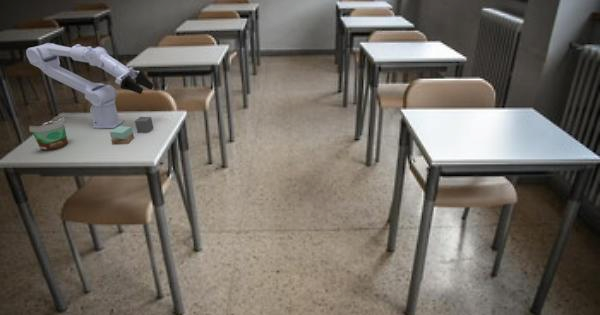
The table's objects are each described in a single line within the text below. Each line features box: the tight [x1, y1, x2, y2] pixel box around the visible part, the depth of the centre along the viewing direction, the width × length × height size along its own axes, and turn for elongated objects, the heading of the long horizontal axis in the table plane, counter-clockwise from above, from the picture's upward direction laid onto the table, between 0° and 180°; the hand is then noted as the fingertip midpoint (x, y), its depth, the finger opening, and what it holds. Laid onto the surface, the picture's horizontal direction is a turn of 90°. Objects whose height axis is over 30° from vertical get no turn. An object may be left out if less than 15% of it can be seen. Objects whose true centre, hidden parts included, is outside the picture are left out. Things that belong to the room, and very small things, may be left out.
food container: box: [29, 115, 69, 152], centre depth 151 cm, size 12×6×10 cm, turn 148°
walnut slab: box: [110, 132, 135, 145], centre depth 156 cm, size 6×6×2 cm
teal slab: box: [109, 125, 134, 139], centre depth 155 cm, size 6×6×2 cm
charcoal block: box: [134, 116, 154, 134], centre depth 164 cm, size 4×4×5 cm
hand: (147, 89), depth 160 cm, fingers open, 7 cm apart
